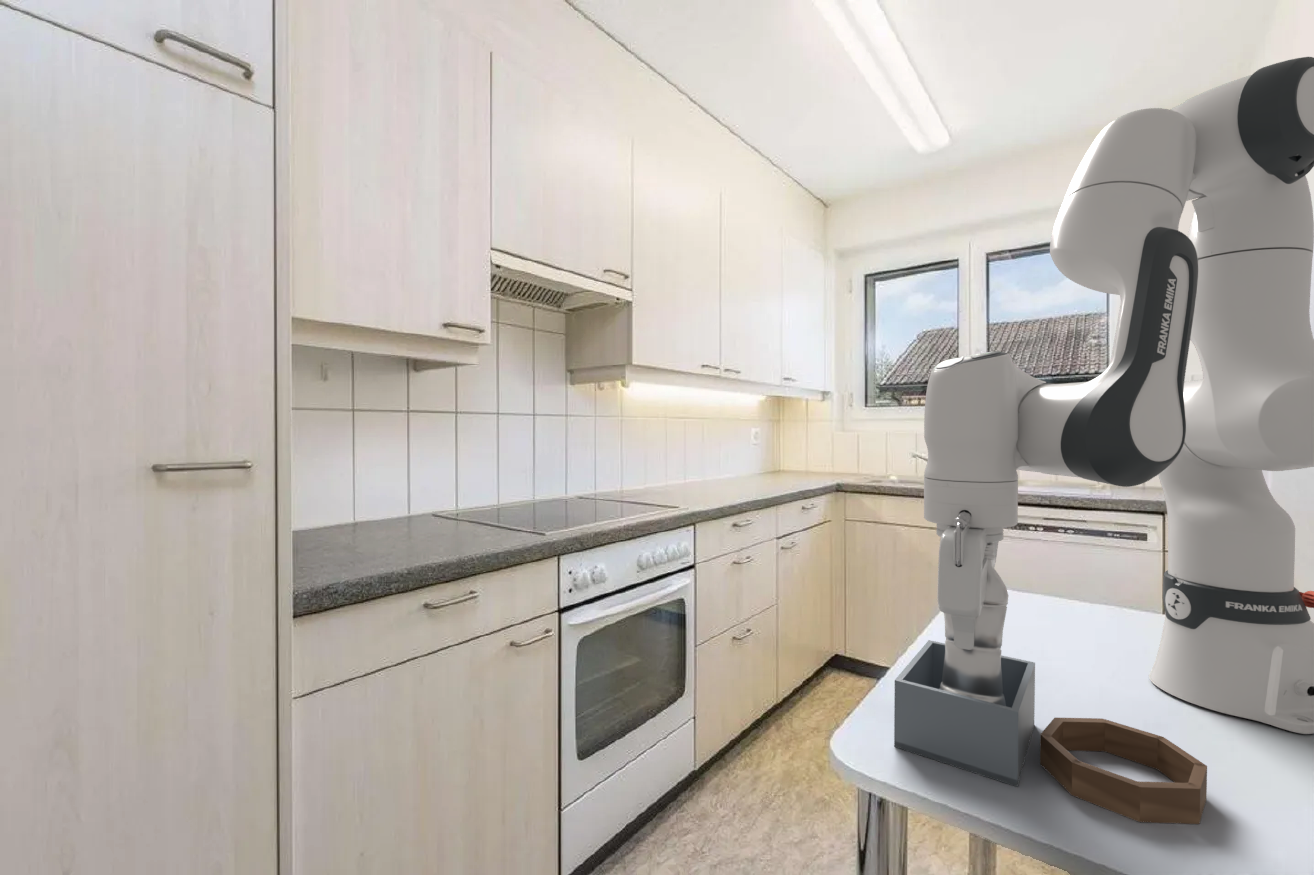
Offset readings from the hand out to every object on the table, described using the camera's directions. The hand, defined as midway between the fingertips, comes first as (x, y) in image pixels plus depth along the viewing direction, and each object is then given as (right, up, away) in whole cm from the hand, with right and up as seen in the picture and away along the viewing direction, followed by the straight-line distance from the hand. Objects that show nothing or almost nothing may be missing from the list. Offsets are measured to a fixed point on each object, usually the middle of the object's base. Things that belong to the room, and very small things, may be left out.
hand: (968, 633), depth 63 cm
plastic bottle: (-1, -10, -2) cm, 10 cm away
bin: (0, -11, 0) cm, 11 cm away
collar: (+10, -11, -8) cm, 17 cm away
